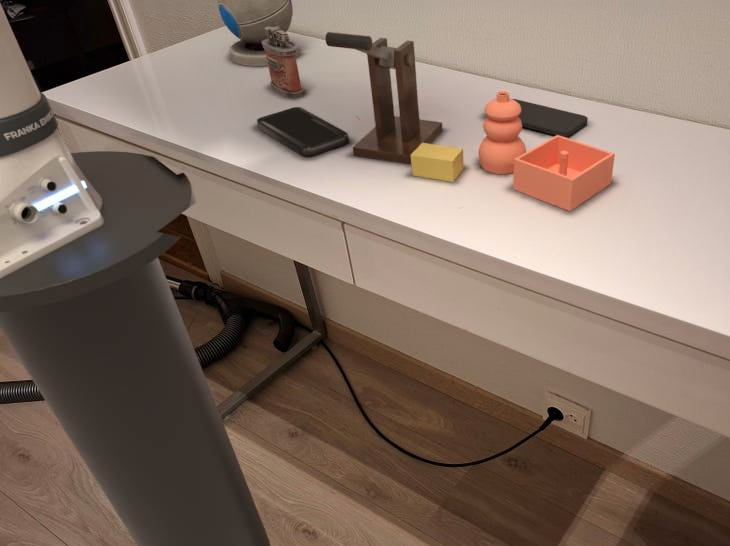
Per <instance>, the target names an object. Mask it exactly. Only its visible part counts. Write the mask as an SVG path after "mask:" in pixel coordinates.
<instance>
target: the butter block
mask: <svg viewBox="0 0 730 546" xmlns="http://www.w3.org/2000/svg"><path fill="white" fill-rule="evenodd" d="M410 165H411V173H412V174H411V175H412V176H413V177H419V178H426V179H432V180H437V181H445V182H449V183H454V182H455V181H456V180H457V178H458V177H459V176H460V174H461V173H462V172H463V170H464V169H465V168H464V148H461V147H455V146H449V145H448V146H447V145H441V144H435V143H434V144H433V143H430V144H428V143H422V144H421V145H420V146H419V147H418V148H417V149H416V150H415V151H414V152H413V153H412V154H411V164H410Z"/></svg>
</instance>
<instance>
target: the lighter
mask: <svg viewBox="0 0 730 546" xmlns="http://www.w3.org/2000/svg"><path fill="white" fill-rule="evenodd" d="M265 32H266V35H267V38H268V39H265V40H263V41H262V46H263V48H264V49H265V54H266V59H267V63H268V65H267V68H268V72H269V76H270V86H271V89H272V90H273V91H274V92H275V93H278V94H279V95H282V96H284V97H287V98H290V99H298V98H301V97H304V95H305V93H304V88H303V87H302V83H301V78H300V72H299V67H298V63H297V57H296V56H295V54H296V49H295V47H294V46H292V45H291V44H289V43H287V42H290V37H289V33H287V32H284V31H281V30H280V28H279V27H278V26H277V27H266V28H265Z"/></svg>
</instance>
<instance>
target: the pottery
mask: <svg viewBox="0 0 730 546" xmlns="http://www.w3.org/2000/svg"><path fill="white" fill-rule="evenodd" d="M513 99H514V98H510V92H509V91H506V90H501V91H497V92H496V97H495V98H494V99H490V101H488V102H487V103H486V104H485V106H484V114H485V115H487V116H486V117H485V119H484V121H483V124H482V128H483V132H484V133H485V135H486V136H485V137H484V138H483V139H482V141H481V142H480V144H479V147H478V159H479V162H480V166H481V168H482V169H483V170H485V171H486V172H488V173H491V174H497V175H509V174H513V177H512V178H513V181H512V183H513V184H512V189H513V190H514V191H517V192H519V193H521V194H523V195H527V196H530V197H532V198H534V199H537V200H540V201H542V202H545V203H547V204H549V205H552V206H554V207H557V208H560V209H563V210H565V211H568V212H572V211H573V210H574V209H576V208H578V207H579V206H581V205H582V204H583V203H584V202H586V201H587V200H589V199H591V198H593V196H595V195H596V194H598V193H600V192H601V191H603V190H604V189H606V188H607V187H608V186H610V185H611V184H612V180H613V173H614V163H615V157H616V153H614V152H612V151H608V150H605V149H603V148H602V149H601V148H599V147H596V146H593V145H590V144H587V143H584V142H581V141H578V140H575V139H571V138H569V137H567V136H566V137H563V136H559V135H554V136H553V137H550V139H548V140H546V141H544V142H542V143H540V144H538V145H537V146H535V147H533V148H532V149H529V150H528V151H527V149H526V145H525V142H524V141H523V139H522V138H521V137H520V136H519V135H520V134H521V132H522V131H523V127H522V122H521V120H520V118H519V117H518V116H519V114H520V113H521V106H520V104H519V103H517V102H516V101H515V100H513Z"/></svg>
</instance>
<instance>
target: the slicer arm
mask: <svg viewBox="0 0 730 546" xmlns="http://www.w3.org/2000/svg"><path fill="white" fill-rule="evenodd" d="M324 41H325V44H326V46H328V47H333V48H341V49H351V50H355V51H358V52H361V53H364V54H366V55H367V54H369V55H371V56H374V57H377V58H379V59H380V60H379V65H380V66H383V67H386V68H389V69H390V70H395V59H394V50H395V49H397V48H398V47H393V46H388V47H385V46H381V48H378V47H376V46H373V45H372V43H373V39H372V36H370V35H362V34H353V33H352V34H350V33H343V32H334V31H328V32H326V34H325V40H324Z"/></svg>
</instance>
